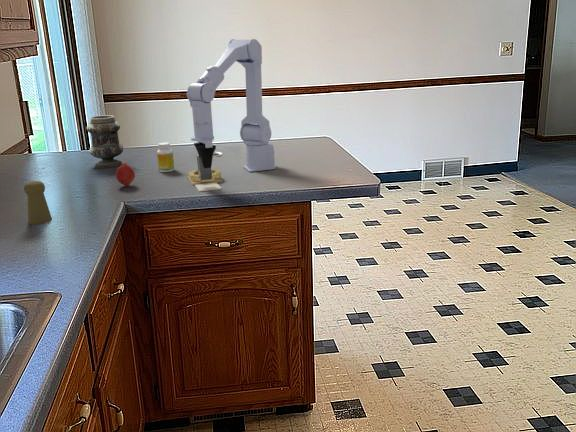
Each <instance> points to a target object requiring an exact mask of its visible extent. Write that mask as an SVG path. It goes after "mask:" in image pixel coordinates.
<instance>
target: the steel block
mask: <svg viewBox="0 0 576 432" xmlns="http://www.w3.org/2000/svg"><path fill="white" fill-rule="evenodd" d="M196 164H197V169H198V174H199V179H200V180H201V181H202V180H209V179H212V173H211V169H212V167H211V168H204V166H203V162H202V158H201V156H199V155H197V156H196Z"/></svg>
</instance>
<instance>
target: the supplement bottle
mask: <svg viewBox="0 0 576 432" xmlns="http://www.w3.org/2000/svg"><path fill="white" fill-rule="evenodd" d="M157 144H158V145H157V147H158V150H157V151H156V154H157V155H156V157H157V164H158V171H159V172H161V173H168V172H173V171H175V163H174V151H173V149H171V148H170V147H171V143H170V142H167V141H166V142H159V143H157Z"/></svg>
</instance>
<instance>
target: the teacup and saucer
mask: <svg viewBox="0 0 576 432" xmlns="http://www.w3.org/2000/svg"><path fill="white" fill-rule="evenodd" d="M212 145H215V146H216V147H217V145H216V144H215V143H212ZM216 150H217V148H216V149H215V151H214V154H213V156H215V157H219V156H221V155H223V152H221V151H216Z"/></svg>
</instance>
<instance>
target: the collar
mask: <svg viewBox="0 0 576 432" xmlns="http://www.w3.org/2000/svg"><path fill="white" fill-rule="evenodd" d="M211 173H212V179H209V180H202V181H201V180H200V179H199V174H198V168H197V169H194V170H191V171H190V172H188V176H189V179H190V180H191V181H196V182H207V181H215V180H217V179H219V178H222V172H221V171H220V169H217V168H211ZM189 179H188V180H189Z"/></svg>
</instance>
